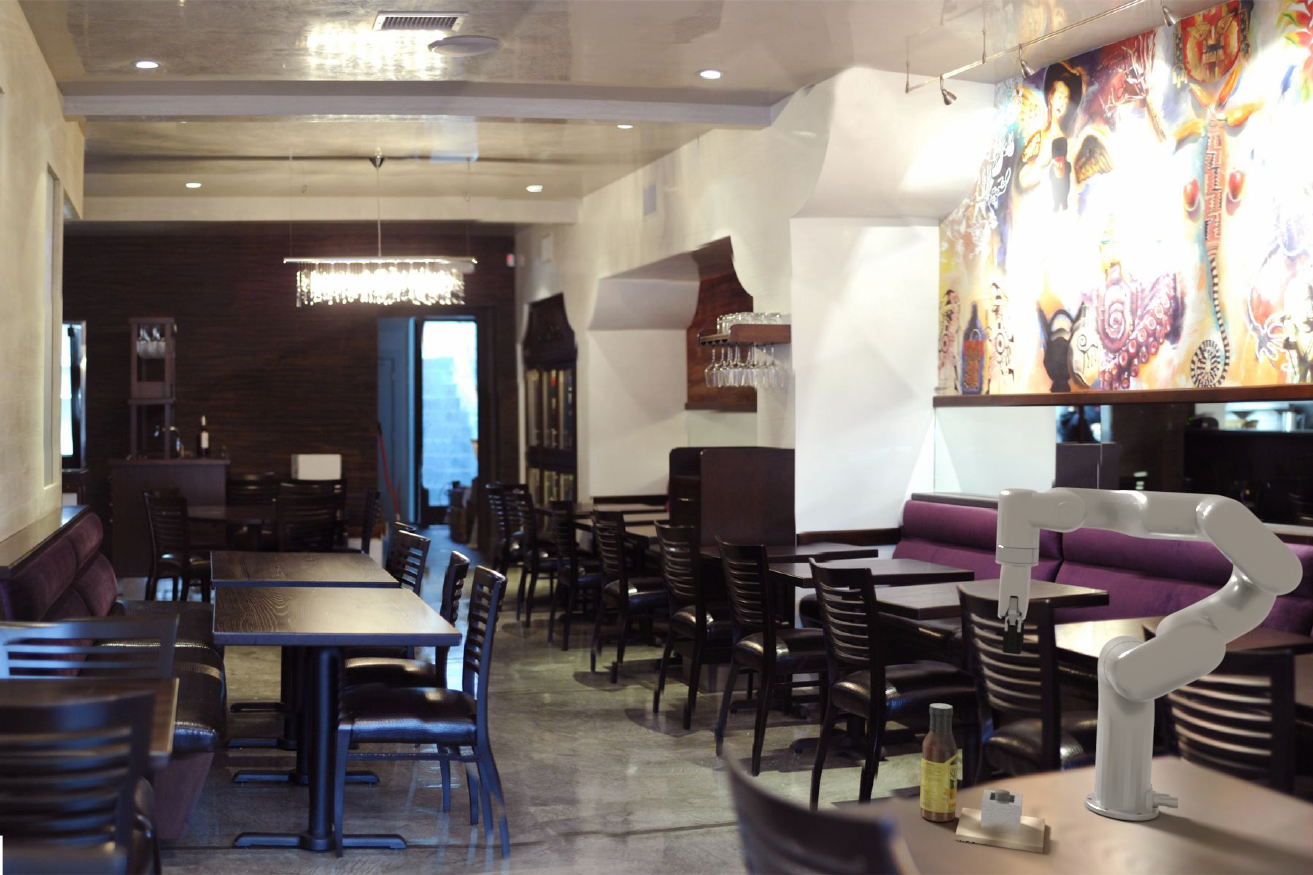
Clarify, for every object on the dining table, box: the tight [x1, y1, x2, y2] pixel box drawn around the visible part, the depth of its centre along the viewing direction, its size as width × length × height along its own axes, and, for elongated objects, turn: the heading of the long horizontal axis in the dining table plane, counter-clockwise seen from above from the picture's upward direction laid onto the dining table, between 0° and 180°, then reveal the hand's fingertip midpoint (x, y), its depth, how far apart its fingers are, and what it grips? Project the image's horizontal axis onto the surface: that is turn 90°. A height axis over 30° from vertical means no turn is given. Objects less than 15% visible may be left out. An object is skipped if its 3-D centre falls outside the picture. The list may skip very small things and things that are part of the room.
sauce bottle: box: [919, 702, 959, 823], centre depth 213 cm, size 6×6×20 cm
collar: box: [980, 788, 1024, 835], centre depth 206 cm, size 6×6×5 cm
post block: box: [954, 789, 1046, 854], centre depth 206 cm, size 14×14×7 cm
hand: (1013, 647), depth 222 cm, fingers open, 9 cm apart
